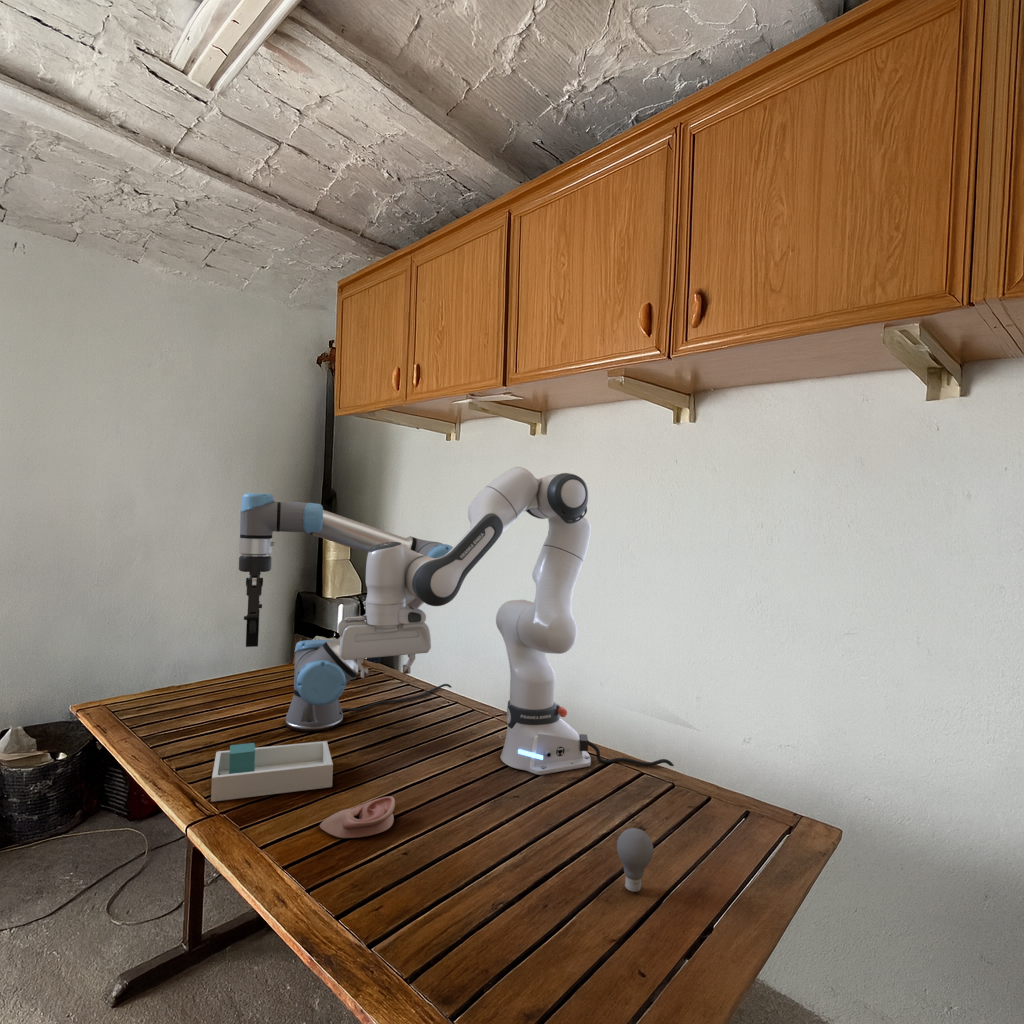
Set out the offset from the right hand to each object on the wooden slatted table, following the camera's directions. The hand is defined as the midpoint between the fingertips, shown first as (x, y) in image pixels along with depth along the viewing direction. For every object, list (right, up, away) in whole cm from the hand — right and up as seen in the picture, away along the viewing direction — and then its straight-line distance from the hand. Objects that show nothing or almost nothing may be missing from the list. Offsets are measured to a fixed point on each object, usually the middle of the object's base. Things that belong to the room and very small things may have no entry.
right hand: (385, 675), depth 143 cm
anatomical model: (-1, -24, -20) cm, 31 cm away
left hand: (-36, +5, +15) cm, 39 cm away
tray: (-24, -23, -3) cm, 33 cm away
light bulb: (+49, -27, -37) cm, 67 cm away
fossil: (-34, -21, +74) cm, 84 cm away
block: (-30, -21, -5) cm, 37 cm away
